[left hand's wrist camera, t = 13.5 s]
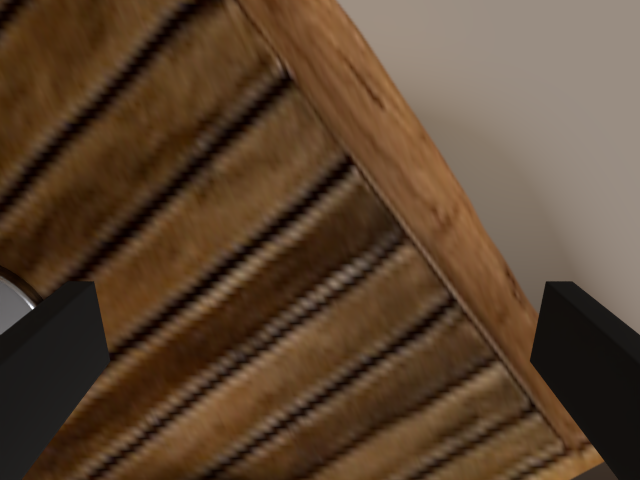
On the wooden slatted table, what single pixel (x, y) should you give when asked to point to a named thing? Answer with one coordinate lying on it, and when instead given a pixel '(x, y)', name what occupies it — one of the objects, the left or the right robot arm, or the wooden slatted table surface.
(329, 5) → the wooden slatted table surface
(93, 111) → the wooden slatted table surface
